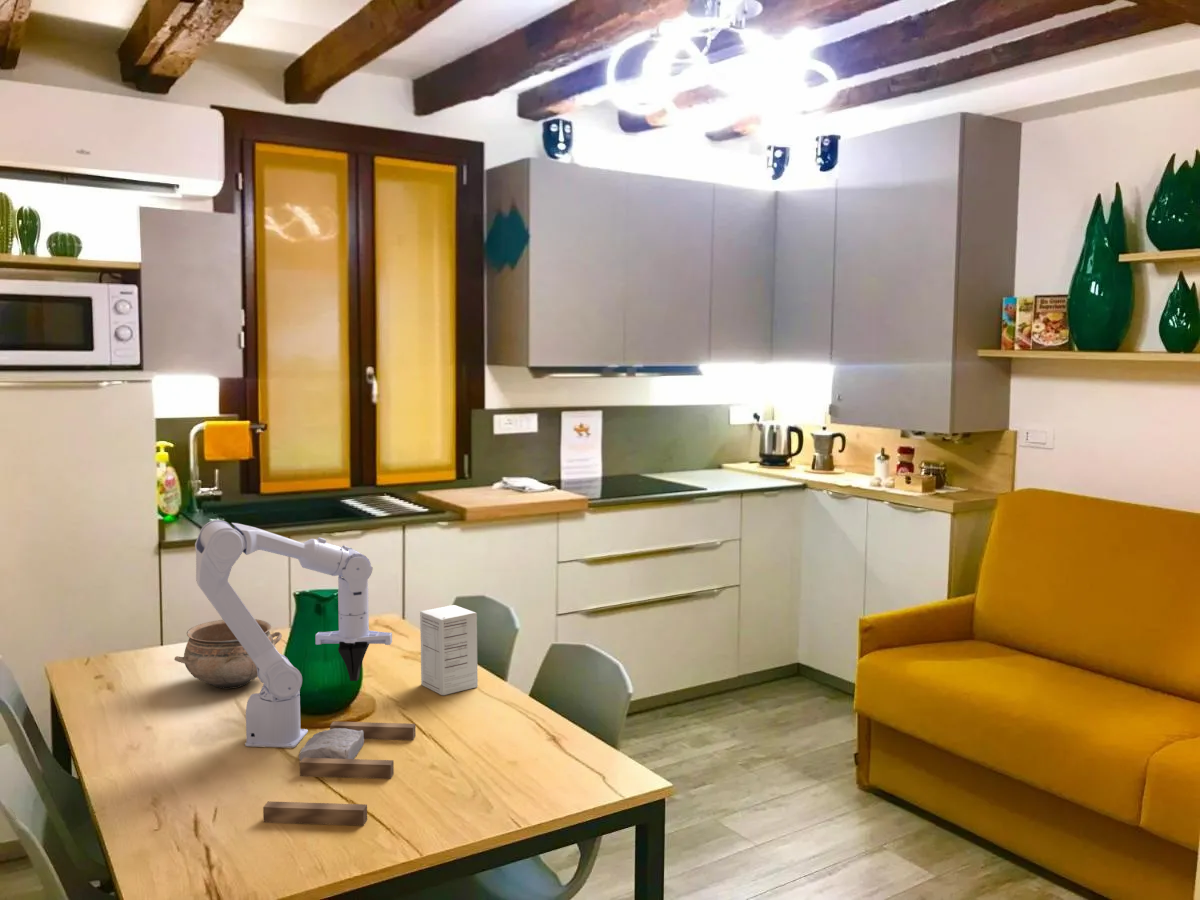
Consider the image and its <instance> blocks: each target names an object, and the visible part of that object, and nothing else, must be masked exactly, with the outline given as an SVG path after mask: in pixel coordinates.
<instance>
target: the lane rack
mask: <svg viewBox="0 0 1200 900" xmlns="http://www.w3.org/2000/svg"><path fill="white" fill-rule="evenodd" d="M334 728H337V729H338V728H342V729H343V728H346V729H352V730H357V731H361V730H363V732H364V740H386V741H389V740H392V741H414V740H415V738H416V723H407V722H406V723H400V722H399V723H398V722H371V721H370V722H368V721H367V722H365V721H364V722H362V721H332V722H331V723H330V725H329V730H330V729H334ZM394 764H395V763H394V760H393V759H364V758H363V759H362V758H361V759H359V758H354V759H332V758H303V759H302V760H301V761H300V760H299V776H300V777H315V778H316V777H318V778H321V777H322V778H350V779H351V778H352V779H377V780H378V779H383V780H385V779H387V780H391V779H392V778H393V776H394V774H395V768H394ZM262 811H263V813H262V814H263V818H262V819H263V823H275V824H277V823H278V824H279V823H280V824H306V825H307V824H309V825H337V826H342V825H343V826H365V824H366V822H367V820H368V804H367V803H365V804H362V803H361V804H359V803H330V802H300V801H299V802H297V801H296V802H295V801H270V800H269V801H267V802H266V803H265V805H264V806H263V807H262Z"/></svg>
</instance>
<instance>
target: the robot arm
mask: <svg viewBox="0 0 1200 900" xmlns="http://www.w3.org/2000/svg"><path fill="white" fill-rule="evenodd" d="M232 525H233V526H234V528H233V526H232ZM194 547H195V580H196V581H195V582H196V584H197V586H198V587H199V589H200V590H201V591H202V592H203V594H204V595H205V597H206V599H208V601H209V602H210V603H211V605H212V607H213V608H214V609H215V611H216V612H217V613H218V615H219V616H220V618H221V620H224V622H225V623H226V624H227V626H228V627H229V628H230V630H231V631H232V633H233V634H234V635H235V637H236V638H237V640H238V641H239V642H240V644H241V645H242V646H243V648H244V649H245V651H246V652H247V653H248V655H249V656H250V658H251V659H252V661H253V662H254V663H255V665H256V667H257V675H258V677H257V678H258V679H259V681H260V682H261V683H263V684H262V685H263V686H262V687H261V689H260V692H256V693H254V692H253V693H252V694H250V696H249V697H248V699H247V702H246V706H245V731H246V732H245V734H246V735H245V736H246V737H245V738H246V739H245V740H246V742H245V743H244V746H245V747H256V748H257V747H259V748H262V747H263V748H288V749H289V748H295V747H296V746H298V745H299V743H300V742H301V741H302V739H303V738H304V737H305V736H306V735H307V733H309V730H308V729H307V728H306V729H305V728H301V696H300V694H301V693H300V692H301V687H302V685H303V676H302V673H301V671H300V670H299V669H298V668H297V667H295V666H294V665H293V664H292V663H291V662H290V659H288V657H287V656H285V654H282V653H280V652H279V651H278V650H277V648H276V646H275V647H274V646H273V644H272V643H271V641H270V640H269V639H268V637H267V636H266V634H265V633H264V632H263V630H262V629H261V627H260V626H259V624H258V623H257V622H256V620H255V619H256V618H255V617H254V616H253V615H252V613H251V612H250V610H249V609H248V607H247V606H246V605H245V604H244V602H243V601H242V599H241V598H240V596H239V594H238V593H237V592H236V591H235V590H234V587H233V586H232V585H231V584H230V582H229V578H230V577H229V576H230V574H231V571H232V569H233V568H232V567H234V565H235V564H236V562H237V561H238V560H239V558H240V557H241V555H242V554H244V555H246V556H248V555H250V554H253V553H255V552H257V551H264V552H268V553H272V554H277V555H279V556H285V557H288V558H292V559H297V560H298V562H299V564H300V566H301V567H302V568H303V569H307V570H311V571H313V572H314V571H315V572H317V573H321V574H324V575H328V576H332V577H337V576H338V577H337V578H338V580H337V582H338V584H337V585H338V590H337V601H338V602H337V603H338V604H337V605H338V607H337V608H338V609H337V610H338V630H333V631H331V630H330V631H318V632H317V633H315V645H316V646H317V645H322V644H333V645H334V644H338V648H337V651H338V654H339V655H340V657H341V658H342V660H343V661H344V662H343V663H344V664H345V666H346V670H347V673H348V676H349V681H350V682H358V680H359V679H360V676H361V675H360V674H361V667H362V664H363V662H364V658H365V655H366V654H367V650H368V648H369V646H370V645H373V644H374V645H385V646H391V644H392V643H393V633H392V632H390V631H389V632H387V631H386V632H385V631H377V630H370V627H369V626H370V622H369V619H370V617H369V611H370V610H369V581H368V580H369V579H370V578H371V576H372V574H373V570H374V568H373V566H372V564H371V561H370V559H369V558H368V557H367V556H366V555H364V554H363V553H362V552H359V551H358V550H356V549H354V548H352V547H349V546H348V545H344V544H343V545H342V546H339V545H335V544H333V543H329V542H327V539H325V538H323V537H318V538H317V539H315V538H310V539H307V540H306V541H304V542H303V541H302V542H300V541H298V540H295V539H292V538H288V537H286V536H284V535H280V534H277V533H274V532H272V531H271V532H270V531H267V530H264V529H262V528H258V527H255V526H251V525H247V524H242V523H239V522H231V523H229V522H227V521H225V520H221V519H216V520H215V519H214V520H210V521H208V522H207V523H206V524H204V525H203V526H202V527H201V529H200V531H199V533H198V535H197V538H196V540H195V543H194Z"/></svg>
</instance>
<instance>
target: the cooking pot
mask: <svg viewBox="0 0 1200 900" xmlns="http://www.w3.org/2000/svg"><path fill="white" fill-rule="evenodd" d="M254 619H255V620H256V622H257V623H258V624H259V626H260V627H261V629H262V630H263V632H264V633H265V634H266V636H267V637H268V639H269V640H270V641H271V643H272V644H273V646H274V647H275V648H276V644H277V643H279V642H280V641H281V640H282V637H283V635H282V633H281V632H280V631H276V632H273V633H271V632H270V631H271V629H272V627H273V626H272V624H271V623H270V622H268V621H266V620H263V619H262V620H261V619H257V618H254ZM186 636H187V637H188V641H187V643H186V646H185V648H184V649H185V650H184V652H183V656H175V657H174V661H175V662H178V663H181V664H184V665H185V667H186V670H187V671H188V672H189V674H191V676H193V677H194V678H196V679H197V680H198V681H200V682H204V683H206V684H209V685H211V686H213V687H216V688H219V689H225V690H227V689H235V688H240V687H243V686H245V685H247V684H248V683H249V682H250V681H253V680H255V679H256V678H258V675H257V667H256V665H255V663H254V662H253V661H252V659H251V658H250V656H249V655H248V653H247V652H246V651H245V649H244V648H243V646H242V645H241V644H240V642H239V641H238V640H237V638H236V637H235V635H234V634H233V633H232V631H231V630H230V628H229V627H228V626H227V624H226V623H225V622H224V620H223V619H219V620H218V619H217V620H212V621H207V622H204V623H200V624H198V625H195V626H192V627H191V628H189V629H188V630H187V632H186ZM273 638H274V639H273Z"/></svg>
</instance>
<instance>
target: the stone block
mask: <svg viewBox="0 0 1200 900" xmlns="http://www.w3.org/2000/svg"><path fill="white" fill-rule="evenodd" d="M364 743H365V739H364V732H363V730H361V731H357V730H352V729H346V728H343V729H342V728H338V729H337V728H334V729H330V728H329V729H328V730H322V731H318V732H316V733H314V734H313V735H312V737H310V738H309V739H308V740H307V741H306V742H305V744H304V745H303V747H302V748H301V750H300V751H299V755H298V757H299V762H300V761H301V760H302V759H303V758H332V759H356V757H357V756H358V754H359V752H360V751H361V750H362V748H363V746H364Z"/></svg>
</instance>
